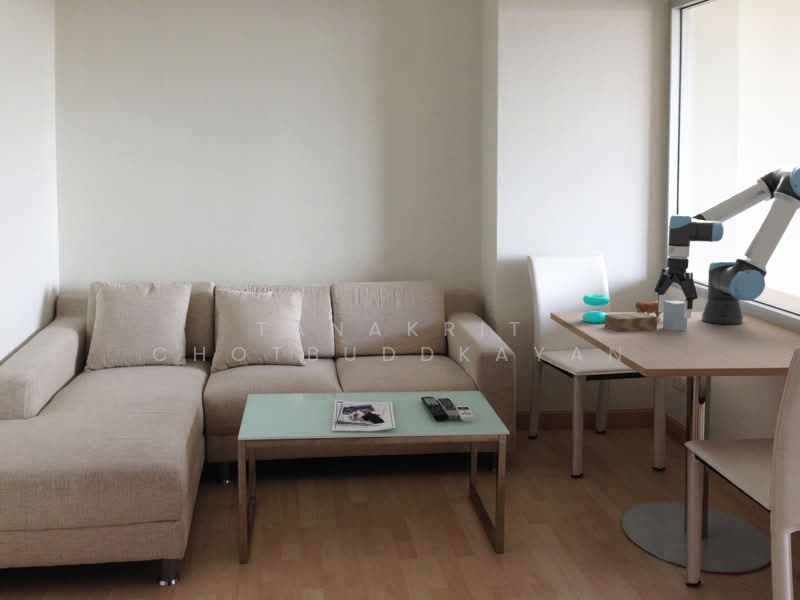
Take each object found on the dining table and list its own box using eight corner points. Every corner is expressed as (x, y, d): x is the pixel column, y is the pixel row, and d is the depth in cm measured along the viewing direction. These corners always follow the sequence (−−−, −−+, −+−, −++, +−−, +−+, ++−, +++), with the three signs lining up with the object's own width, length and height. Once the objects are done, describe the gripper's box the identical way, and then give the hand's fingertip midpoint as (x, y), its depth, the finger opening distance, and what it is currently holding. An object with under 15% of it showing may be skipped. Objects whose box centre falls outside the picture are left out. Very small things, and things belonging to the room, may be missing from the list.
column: (675, 326, 358) (676, 300, 357) (686, 329, 353) (688, 302, 352) (662, 328, 356) (664, 301, 354) (673, 330, 351) (675, 303, 349)
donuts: (601, 298, 361) (578, 295, 367) (600, 324, 362) (577, 321, 369) (614, 295, 368) (591, 293, 375) (613, 321, 370) (590, 318, 376)
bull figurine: (671, 321, 369) (672, 300, 368) (635, 320, 372) (636, 299, 370) (669, 319, 374) (670, 299, 372) (634, 318, 376) (635, 298, 375)
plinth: (641, 325, 363) (642, 312, 362) (656, 330, 353) (657, 316, 353) (604, 328, 358) (604, 314, 357) (618, 332, 348) (619, 319, 348)
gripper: (647, 254, 360) (643, 310, 363) (694, 261, 338) (690, 321, 341) (662, 253, 363) (659, 309, 366) (710, 260, 341) (706, 319, 344)
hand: (674, 314), depth 354 cm, fingers open, 13 cm apart
